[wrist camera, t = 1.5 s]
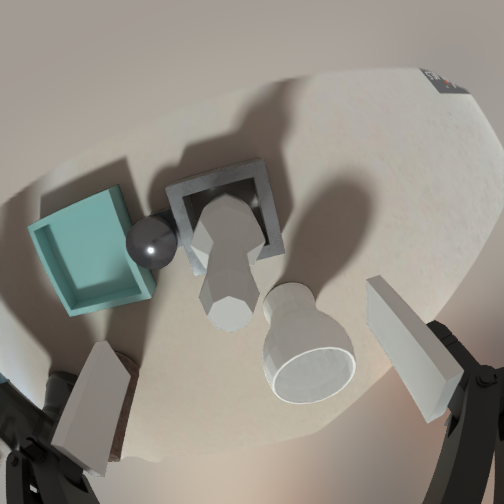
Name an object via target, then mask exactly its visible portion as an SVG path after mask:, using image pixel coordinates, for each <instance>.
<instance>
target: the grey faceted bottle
mask: <svg viewBox="0 0 504 504" xmlns="http://www.w3.org/2000/svg"><path fill="white" fill-rule="evenodd" d="M264 243H265V238H264V236H263V233H262V230H261V228H260V226H259V224H258V222H257V220H256V218H255V216H254V214H253V213H252V211H251V209H250V207H249V205H247V204H246V203H245V202H244V201H243V200H242V199H241V198H239V197H237V196H235V195H232V194H230V193H227V192H225V193H223V194H221V195H219V196H218V197H216V198H214V199H212V200H211V201H210V202H209V203H208V204H207V205H206V206H205V207H204V208H203V211H202V213H201V216H200V218H199V221H198V223H197V225H196V228H195V230H194V234H193V237H192V240H191V243H190V246H191V248H192V249H193V251H194V252H195V254H196V256H197V257H198V259H199V260H200V262H201V263H202V265H203V266H204V268H207V274H206V277H205V280H204V283H203V286H202V289H201V292H200V295H199V298H200V301H201V303H202V305H203V308H204V310H205V312H206V314H207V316H208V318H209V319H210V320H211V322H212V323H213V324H214V326H215V327H216V328H218V329H221V330H224V331H228V332H231V333H232V332H234V331H236V330H239V329H241V328H243V327H245V326H246V325H247V323H248V322H249V320H250V318H251V316H252V314H253V312H254V309H255V306H256V303H257V300H258V297H259V294H260V293H259V290H258V288H257V286H256V283H255V281H254V278H253V276H252V274H251V271H250V267H251V266H253V265H254V263H255V261H256V259H257V257H258V255H259V253H260V251H261V249H262V247H263V245H264Z"/></svg>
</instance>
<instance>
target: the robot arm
mask: <svg viewBox="0 0 504 504" xmlns="http://www.w3.org/2000/svg"><path fill="white" fill-rule="evenodd" d="M366 309H367V326H368V327H369V329H370V330H371V332H372V333H373V335H374V336H375V338H376V339H377V341H378V342H379V344H380V346H381V347H382V349H383V350H384V352H385V353H386V355H387V357H388V358H389V360H390V361H391V363H392V364H393V366H394V368H395V369H396V371H397V373H398V374H399V376H400V377H401V379H402V381H403V382H404V384H405V386H406V387H407V389H408V391H409V392H410V394H411V396H412V397H413V399H414V401H415V402H416V404H417V406H418V408H419V409H420V411H421V413H422V415H423V416H424V418H425V420H426V422H427V423H429V422H431V421H433V420H434V419H436V418H438V417H440V416H441V415H443V414H444V412H445V410H446V408H447V406H448V408H449V409H450V411H451V414H450V415H449V417H448V419H447V421H446V423H445V426H447V424H448V426H447V431H446V435H445V438H444V442H443V446H442V450H441V453H440V456H439V460H438V463H437V466H436V469H435V472H434V475H433V478H432V480H431V483H430V486H429V488H428V491H427V493H426V496H425V498H424V501H423V503H422V504H481V502H482V499H483V495H484V492H485V489H486V485H487V481H488V477H489V473H490V468H491V464H492V459H493V453H494V452H495V488H494V503H493V504H504V367H502V368H499V369H494V368H493V367H492V366H488V365H480V364H479V363H478V362H477V361H476V360H475V358H474V357H473V356H472V355H471V354H470V353H469V351H467V349H466V348H465V347H464V346H463V345H462V344H461V342H460V341H458V339H457V338H456V337H455V336H454V335H452V332H450V330H449V329H448V328H447V327H446V326H445V325H443V324H441V323H439V322H438V321H436V320H434V321H432V322H430V323H428V324H425V323H424V322H423V321H422V320H421V319H420V317H419V316H418V315H417V314H416V313H415V312H414V311H413V310H412V309H411V308H410V306H409V305H408V304H407V303H406V302H405V301H404V300H403V299H402V298H401V297H400V296H399V295H398V293H397V292H396V291H395V290H394V289H393V288H392V287H391V286H390V285H389V284H388V283H387V282H386V281H385V280H384V279H383V278H382V277H381V276H380V275H378V276H375V277H372V278H369V279H366ZM130 377H131V376H130V374H129V373H128V372H127V370H126V369H125V367H124V366H123V364H122V363H121V362H120V360H119V359H118V357H117V356H116V354H115V353H114V351H113V350H112V348H111V347H110V345H109V343H108V342H107V340H106V341H100V342H96V343H95V345H94V346H93V348H92V350H91V352H90V354H89V356H88V358H87V360H86V363H85V365H84V367H83V369H82V371H81V373H80V375H79V377H77V376H75V375H72V374H69V373H66V372H54V373H52V374H51V375H50V377H49V379H48V381H47V384H46V393H45V403H44V407H43V409H42V410H41V409H39V408H38V407H37V406H36V405H35V404H34V403H32V402H31V401H30V400H29V399H28V398H27V397H26V396H25V395H23V394H22V393H21V392H20V391H19V390H18V389H17V388H16V387H15V386H14V385H13V384H12V383H11V382H10V380H9V379H7V378H5V377H4V376H3V375H2V374H1V373H0V466H1V463H2V461H3V458H5V457H7V461H6V499H7V504H100V503H99V501H98V499H97V498H96V496H95V494H94V492H93V490H92V488H91V486H90V484H89V482H88V479H87V478H86V476H85V475H84V474H82V473H83V470H85V471H87V472H88V473H90V474H91V475H94V476H100V477H105V472H106V468H107V463H108V459H109V454H110V450H111V446H112V442H113V438H114V434H115V430H116V426H117V422H118V419H119V415H120V411H121V408H122V404H123V401H124V397H125V394H126V391H127V387H128V384H129V381H130ZM30 485H32V486H33V487H34V488H36V489H37V493H35V492H33V491H32V490H30Z"/></svg>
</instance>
